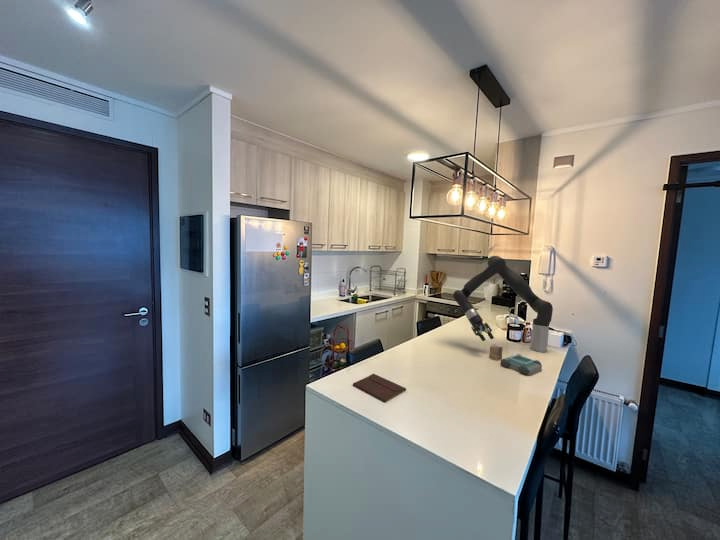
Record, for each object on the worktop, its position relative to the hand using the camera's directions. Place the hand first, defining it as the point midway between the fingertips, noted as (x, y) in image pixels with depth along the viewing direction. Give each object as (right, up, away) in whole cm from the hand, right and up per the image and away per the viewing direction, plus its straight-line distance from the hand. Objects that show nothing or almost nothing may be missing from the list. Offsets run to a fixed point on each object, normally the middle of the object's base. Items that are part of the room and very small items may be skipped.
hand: (488, 339), depth 179 cm
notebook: (-70, -13, -44) cm, 84 cm away
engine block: (+3, -11, -4) cm, 11 cm away
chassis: (+11, -12, -16) cm, 23 cm away
